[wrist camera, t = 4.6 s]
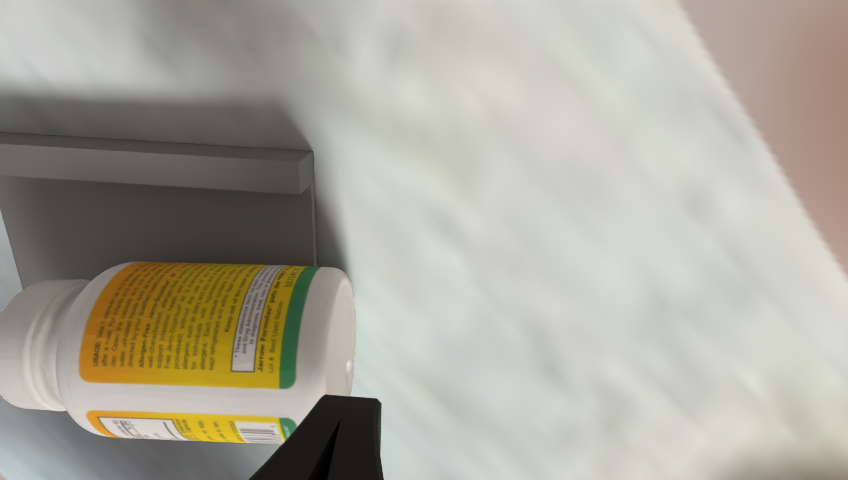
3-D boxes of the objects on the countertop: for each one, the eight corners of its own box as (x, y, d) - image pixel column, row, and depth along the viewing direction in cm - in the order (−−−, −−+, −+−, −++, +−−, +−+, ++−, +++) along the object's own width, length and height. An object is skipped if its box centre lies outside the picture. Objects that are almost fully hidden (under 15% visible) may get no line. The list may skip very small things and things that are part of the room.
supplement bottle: (330, 488, 14) (-7, 476, 14) (359, 377, 19) (112, 370, 19) (318, 312, 12) (-64, 303, 12) (355, 242, 17) (83, 237, 18)
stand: (322, 399, 20) (311, 427, 19) (56, 377, 20) (25, 403, 19) (313, 151, 16) (299, 162, 15) (-11, 131, 17) (-56, 140, 15)
